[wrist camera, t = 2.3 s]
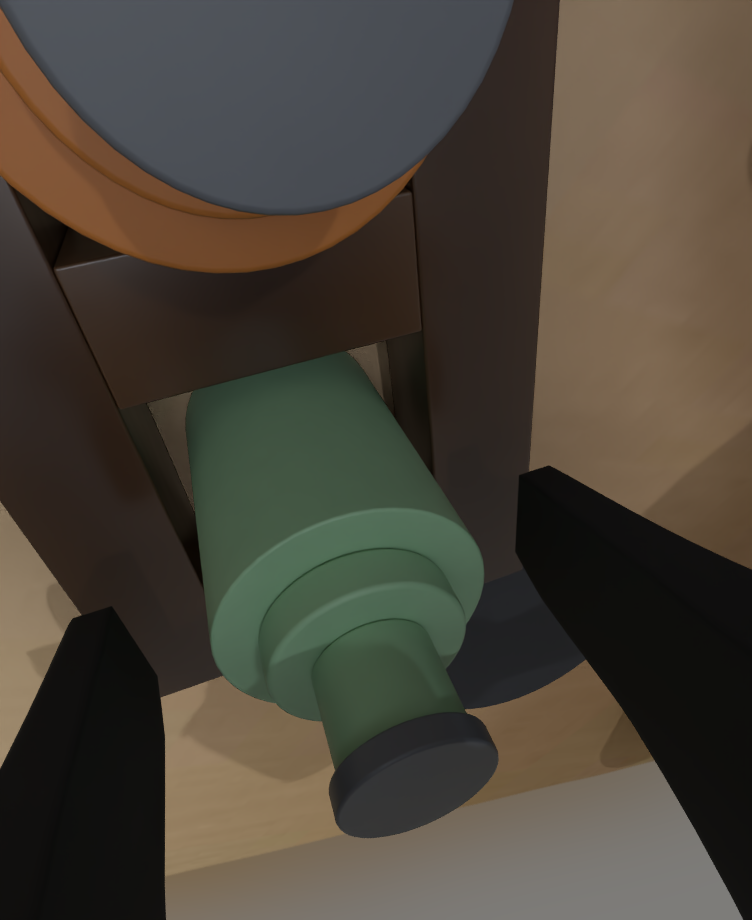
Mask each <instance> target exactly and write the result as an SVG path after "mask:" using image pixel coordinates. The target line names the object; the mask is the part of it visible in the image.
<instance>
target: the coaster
mask: <svg viewBox="0 0 752 920" xmlns="http://www.w3.org/2000/svg"><path fill="white" fill-rule="evenodd" d="M584 660H585V657H584V656H583V655H582V653H581V652H580V651H579V649H578V648H577V647H576V645H575V644H574V642H573V641H572V640H571V638H570V637H569V636H568V634H567V633H566V632H565V630H564V629H563V628H562V626H561V625H560V624H559V622H558V621H557V619H556V618H555V617H554V615H553V614H552V613H551V611H550V610H549V608H548V607H547V606H546V604H545V603H544V601H543V600H542V599H541V597H540V595H539V594H538V592H537V590H536V588H535V587H534V585H533V583H532V582H531V580H530V578H529V576H528V574H527V573H526V571H525V569H524V567H523V568H522V570H521V571H518V572H515V573H513V574H510V575H507V576H504V577H501V578H498V579H495V580H493V581H490V582H487V583H484V584H483V589H482V593H481V597H480V599H479V602H478V604H477V606H476V609H475V611H474V612H473V614H472V616H471V618H470V619H469V621H468V622H467V624H466V631H465V636H464V640H463V643H462V645H461V647H460V650H459V651H458V653H457V655H456V656H455V658H454V659H453V661H452V662H451V663H450V665H449V666H448V667H447V668H446V671H447V673H448V675H449V678H450V680H451V682H452V684H453V686H454V688H455V690H456V692H457V694H458V696H459V698H460V701H461V703H462V705H463V707H464V709H474V708H482V707H487V706H492V705H497V704H500V703H504V702H507V701H510V700H513V699H516V698H519V697H522V696H524V695H526V694H529V693H531V692H533V691H536V690H538V689H540V688H542V687H544V686H546V685H548V684H549V683H551V682H553V681H555V680H556V679H558V678H560V677H561V676H563V675H564V674H566V673H567V672H569V671H571V670H572V669H574V668H575V667H576V666H578V665H579V664H580V663H582V662H583V661H584Z"/></svg>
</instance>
